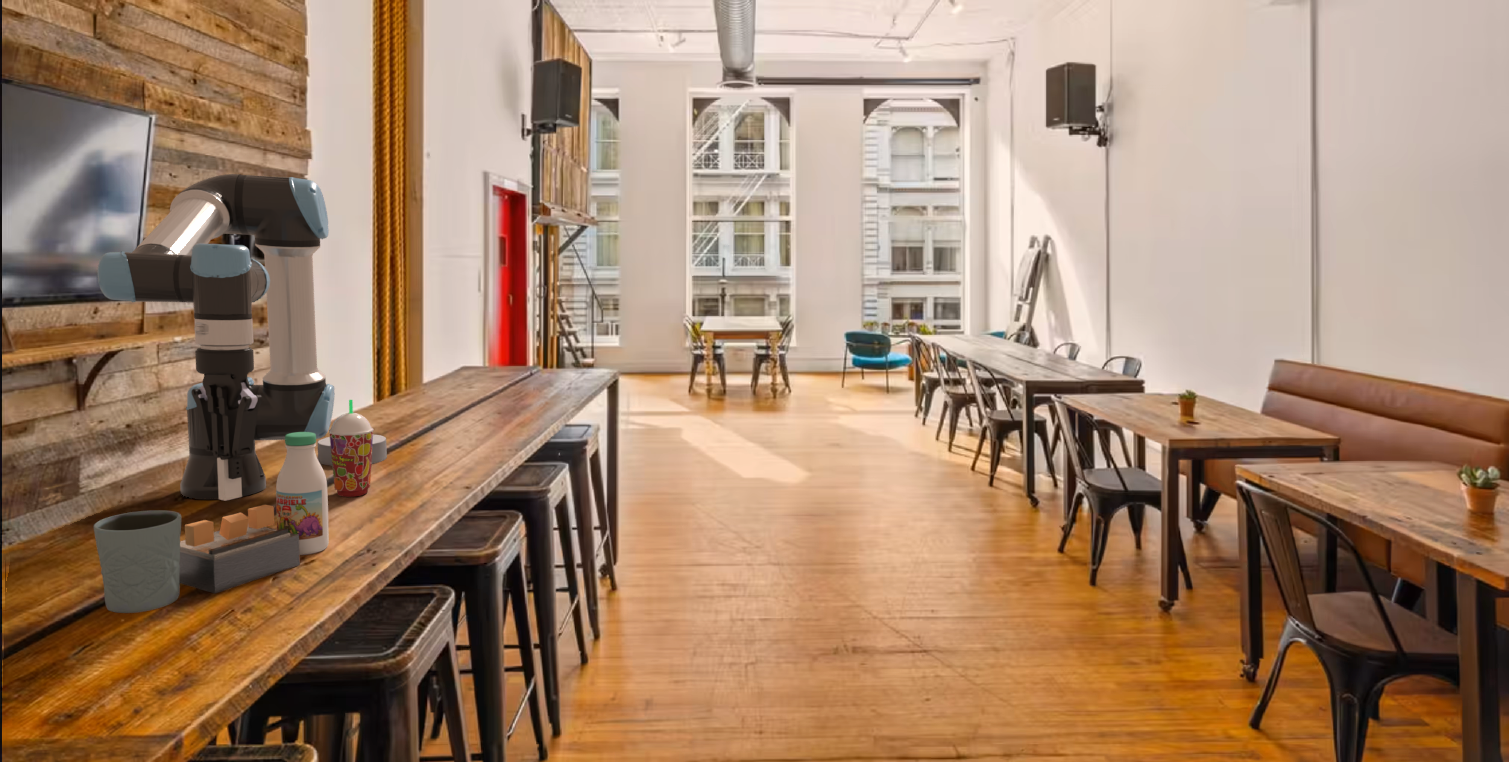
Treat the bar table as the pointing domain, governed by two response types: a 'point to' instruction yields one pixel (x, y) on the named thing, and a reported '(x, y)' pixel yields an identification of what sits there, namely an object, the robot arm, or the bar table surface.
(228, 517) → the small orange block
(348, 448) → the smoothie
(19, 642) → the bar table surface
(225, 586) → the gray rectangular tray
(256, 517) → the tan wooden block
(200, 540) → the orange tall rectangular block
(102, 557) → the gray green pot
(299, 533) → the milk bottle
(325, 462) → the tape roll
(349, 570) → the bar table surface
